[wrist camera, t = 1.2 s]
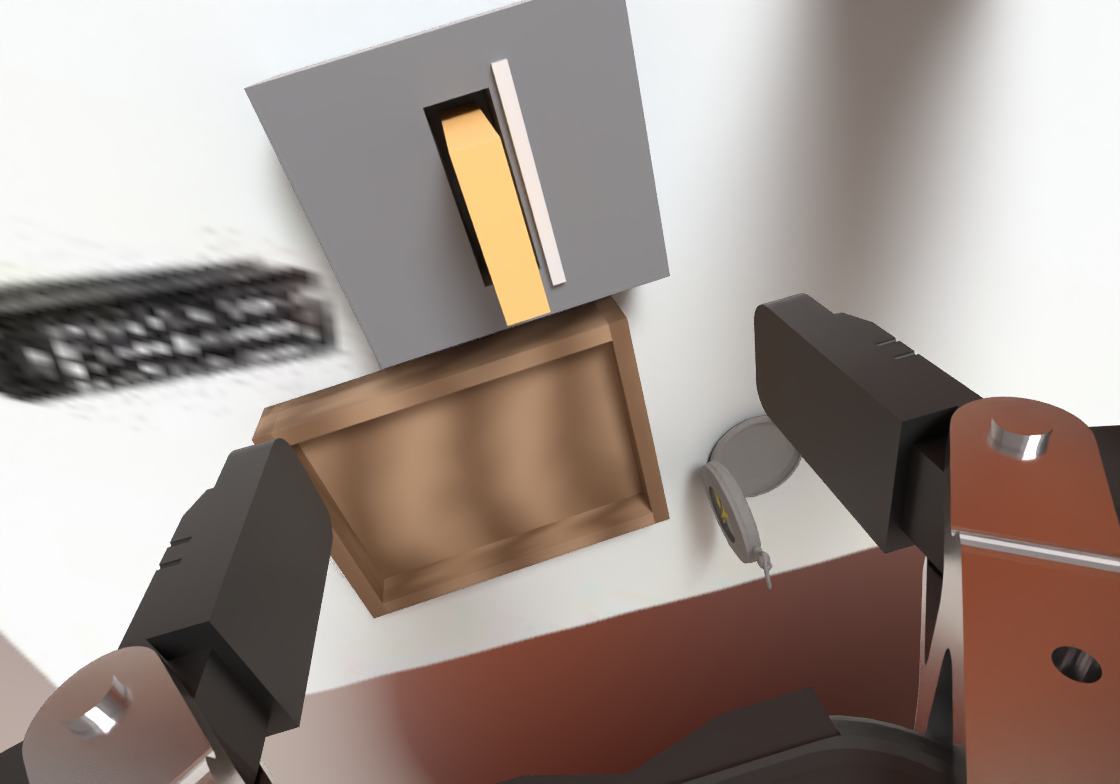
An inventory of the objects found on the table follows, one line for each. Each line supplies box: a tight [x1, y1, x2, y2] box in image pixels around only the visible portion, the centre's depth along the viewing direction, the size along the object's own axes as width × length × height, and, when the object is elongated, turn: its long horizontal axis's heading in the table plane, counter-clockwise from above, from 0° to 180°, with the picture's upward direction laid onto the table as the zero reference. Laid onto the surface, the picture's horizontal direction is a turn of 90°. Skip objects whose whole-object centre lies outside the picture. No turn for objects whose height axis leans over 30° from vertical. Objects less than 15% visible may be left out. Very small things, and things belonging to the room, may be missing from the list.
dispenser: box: [244, 0, 670, 369], centre depth 27 cm, size 14×12×5 cm
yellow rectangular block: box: [439, 101, 551, 326], centre depth 24 cm, size 2×6×10 cm, turn 15°
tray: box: [252, 296, 670, 618], centre depth 36 cm, size 20×15×3 cm
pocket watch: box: [702, 416, 802, 589], centre depth 38 cm, size 8×8×10 cm
